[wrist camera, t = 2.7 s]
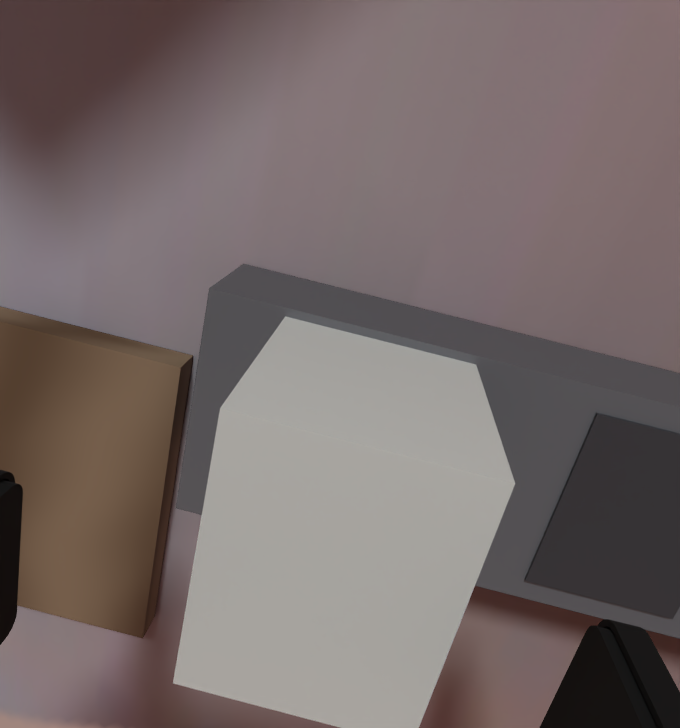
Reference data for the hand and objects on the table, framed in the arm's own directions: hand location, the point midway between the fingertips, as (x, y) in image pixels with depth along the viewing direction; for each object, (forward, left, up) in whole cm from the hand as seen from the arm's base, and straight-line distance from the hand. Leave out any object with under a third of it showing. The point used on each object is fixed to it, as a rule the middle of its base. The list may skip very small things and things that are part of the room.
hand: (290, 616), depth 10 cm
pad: (+10, +5, -8) cm, 13 cm away
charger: (0, 0, -7) cm, 7 cm away
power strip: (-5, 0, -8) cm, 10 cm away
